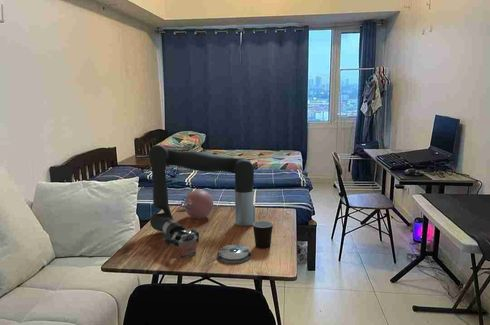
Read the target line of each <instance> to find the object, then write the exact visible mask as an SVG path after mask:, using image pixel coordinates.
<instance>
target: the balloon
mask: <svg viewBox="0 0 490 325" xmlns="http://www.w3.org/2000/svg"><path fill="white" fill-rule="evenodd" d="M184 200H185V201H183V202H184V204H183V205H182V208H183V209H184V211H185V212H186V214H187V215H189V217H191V218H194V219H196V220H197V219H198V220H199V219H204V218H206V217H207V216H209V215H210V214H211V213H212V211H213V208H214V200H213V197H212V195H211V194H210V193H209V192H207V191H206V190H203V189H194V190H192V191H190V192H189V193H188V194H187V195H186V198H184Z"/></svg>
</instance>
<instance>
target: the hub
mask: <svg viewBox="0 0 490 325" xmlns="http://www.w3.org/2000/svg"><path fill="white" fill-rule="evenodd" d="M218 251H219V252H218V253H217V254H216V259H217V260H218V261H219V262H221V263H223V264H231V265H235V264H236V265H237V264H242V263H243V264H244V263H245V262H248V261H249V260H251V258H252V253H251V251H250V249H249V248H248V247H247V246H245V245H242V244H228V245H224V246H222V247H220V248H219V249H218Z"/></svg>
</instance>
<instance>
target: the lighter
mask: <svg viewBox="0 0 490 325" xmlns="http://www.w3.org/2000/svg"><path fill="white" fill-rule="evenodd" d="M189 232H190V231H188V233H187V234H185V235H182V236H181V240H179V247H178V255H177V256H178V259H181V260H182V259H187V258H191V257H193V256H194V255H196V254H197V243H196V240H197V236H194V235H195V233H194V232H192V233H189Z"/></svg>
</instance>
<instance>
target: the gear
mask: <svg viewBox="0 0 490 325" xmlns="http://www.w3.org/2000/svg"><path fill="white" fill-rule="evenodd" d="M186 197H187V195H184V196H183V197H182V198H181V201H180V202H181V205H182V204H183V205H184V201H185V198H186Z"/></svg>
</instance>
